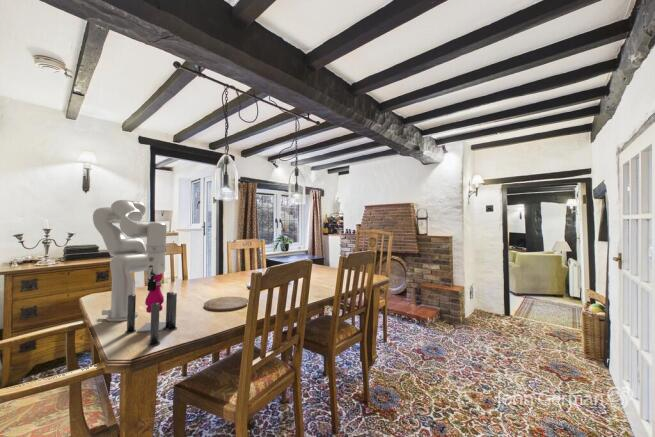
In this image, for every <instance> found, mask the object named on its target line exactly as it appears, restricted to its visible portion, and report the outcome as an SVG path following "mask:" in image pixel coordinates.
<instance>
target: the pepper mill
mask: <svg viewBox="0 0 655 437" xmlns="http://www.w3.org/2000/svg"><path fill="white" fill-rule="evenodd" d="M151 275H154V273H152V274H151ZM152 277H153V278H154V276H152ZM163 277H164V275H163V273H161V274H159V275H156V280H155V281H156V290H155V291H148V294H147V295H146V298H145V302H144V304H145V306H147V307H146V309H145V310H146V313H149V314H151V304H153V303H160V309H159V312H162V311H163V305H162V304H163V303H164V301H165V300H164V299H165V298H164V294H163V293H162V291H161V287H160V284H161V285H162V279H163Z"/></svg>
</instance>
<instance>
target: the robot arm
mask: <svg viewBox="0 0 655 437" xmlns="http://www.w3.org/2000/svg"><path fill="white" fill-rule="evenodd" d="M145 214H146V206H145V204H144V203H143V202H141V201H139V200H127V199H117V200H115V201H114V202H113V203H111V206H110V207H109V206H107V207H99V208H96V209H95V210H94V211H93V214H92V222H93V225H94V228H95V229H96V230H97V232H98V233H99V234H100V236H101V237H102V240H103V242H104V244H105V247H106V249H107V252H108V254H109V255H110V256H112V258H111V260H110V262H109V268H110V274H111V294H110V295H111V296H110V297H111V298H110V308H109V309H102V310H101V316H106V320H105V321H108V322H112V323H113V322H117V323H118V322H124V321H127V312H128V295H133V294H135V295H136V280H135V278H134V277H133V276H132V275H131V274H132V273H138V272H145V274H146V277H147V278H146V279H147V290H146V291H148V292H149V291H155V290H156V281H155V280H156V275H159V274H161V273H162V274H163V273H165V272H166V252H167V251H166V248H167V224H166V223H165V222H158V221H142V219H143V216H144V215H145ZM115 224H119V226H116V225H115ZM124 235H125V236H124ZM141 238H142V239H141ZM143 238H146V245H145V242H144V241H143ZM152 273H154V275H151V274H152ZM152 276H154V278H153V277H152ZM161 287H162V283H161V284H160V288H161ZM138 314H139V313H138V312H137V311H135V318H136V317H138V316H139V315H138Z"/></svg>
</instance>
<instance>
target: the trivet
mask: <svg viewBox="0 0 655 437" xmlns="http://www.w3.org/2000/svg"><path fill="white" fill-rule="evenodd" d="M248 300H249V299H248V298H246V297H242V296H222V297H216V298H212V299H208V300H207V301H204V303H203V308H204V309H205V310H207V311H209V312H232V311H236V310H242V309H244V308H246V307H247V306H248V305H247V303H248Z"/></svg>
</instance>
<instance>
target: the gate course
mask: <svg viewBox="0 0 655 437" xmlns="http://www.w3.org/2000/svg"><path fill="white" fill-rule="evenodd" d="M177 296H178V294H177V292H174V291H169V292H166V302H165V303H166V304H165V305H166V306H165V322H166V327H165V328H164V330H166V331H168V332H173V331H176V330H177V329H178V327H177V301H178V298H177ZM136 300H137V295H136V293H135V294H133V295H128V312H127V320H126V321H127V322H126V331H125V332H124V334H134V333H137V329H136V326H135V325H136V317H135V312H136V306H137V305H136V304H137V303H136ZM159 309H160V303H153V304H151V313H150V323H151V329H150V332H149V333H150V334H149V336H150V337H149V343H148V344H147V347H157V346H159V345H160V344H161V342H160V341H159V338H160V336H159V332H160V331H159V322H160V311H159Z"/></svg>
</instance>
